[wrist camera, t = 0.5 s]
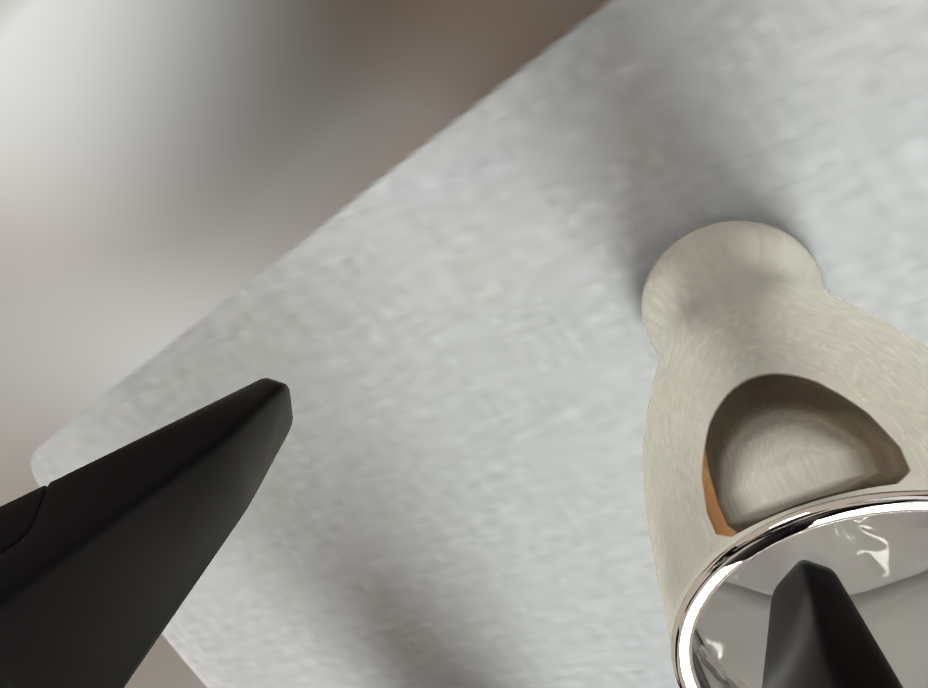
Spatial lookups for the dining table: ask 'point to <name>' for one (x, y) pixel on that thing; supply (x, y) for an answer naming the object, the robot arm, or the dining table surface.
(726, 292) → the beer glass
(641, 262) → the dining table surface
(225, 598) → the dining table surface
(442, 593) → the dining table surface
